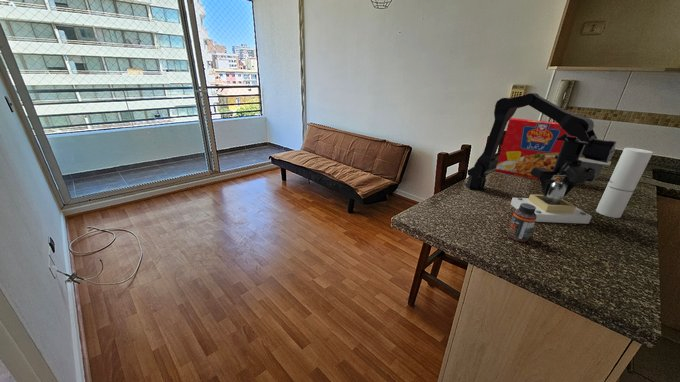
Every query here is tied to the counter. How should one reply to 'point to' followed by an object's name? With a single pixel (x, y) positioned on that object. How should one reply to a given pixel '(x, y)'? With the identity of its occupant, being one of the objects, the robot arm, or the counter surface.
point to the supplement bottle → (522, 222)
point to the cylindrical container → (623, 181)
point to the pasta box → (529, 147)
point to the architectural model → (592, 164)
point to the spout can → (555, 193)
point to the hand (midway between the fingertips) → (553, 196)
